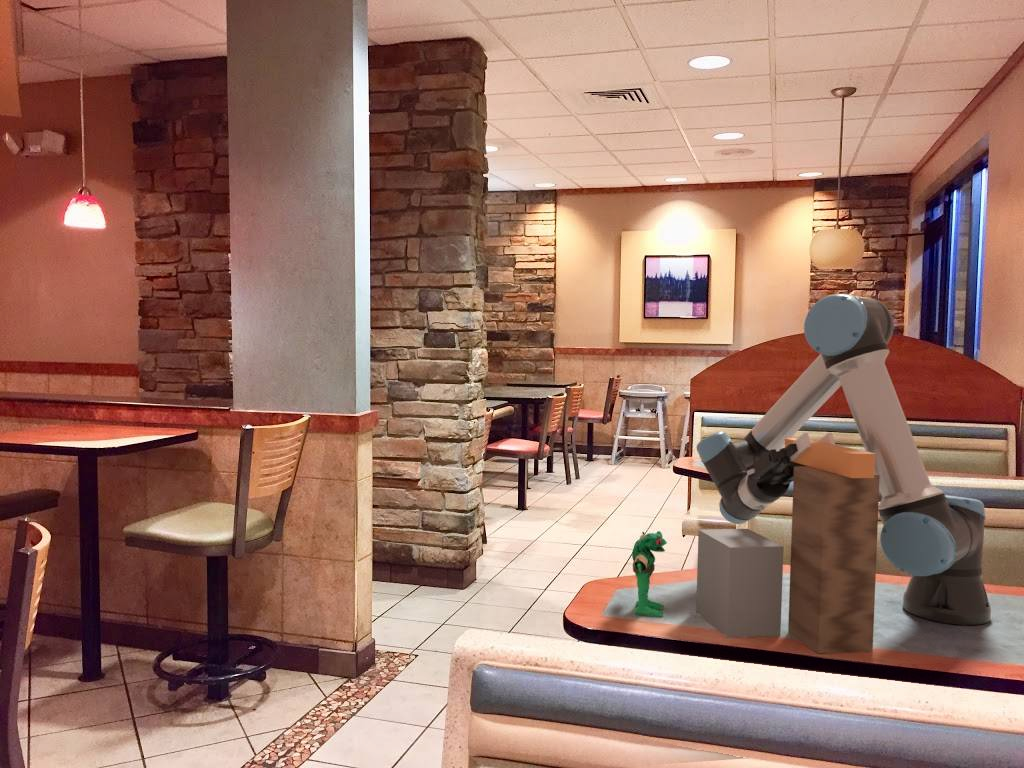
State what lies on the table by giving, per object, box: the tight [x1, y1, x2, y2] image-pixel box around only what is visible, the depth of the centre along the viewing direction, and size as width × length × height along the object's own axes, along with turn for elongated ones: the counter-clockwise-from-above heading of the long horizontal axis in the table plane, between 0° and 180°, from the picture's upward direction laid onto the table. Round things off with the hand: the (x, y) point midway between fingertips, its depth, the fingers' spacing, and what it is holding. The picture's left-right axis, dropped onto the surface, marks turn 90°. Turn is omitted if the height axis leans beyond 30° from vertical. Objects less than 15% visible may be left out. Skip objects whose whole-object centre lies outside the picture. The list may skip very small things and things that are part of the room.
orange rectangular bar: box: [784, 437, 875, 478], centre depth 144 cm, size 4×22×4 cm, turn 10°
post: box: [787, 466, 880, 655], centre depth 142 cm, size 10×10×30 cm
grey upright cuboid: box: [695, 528, 785, 639], centre depth 151 cm, size 10×14×16 cm
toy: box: [631, 530, 668, 618], centre depth 158 cm, size 26×6×15 cm, turn 168°
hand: (819, 439), depth 146 cm, fingers closed on orange rectangular bar, 4 cm apart
